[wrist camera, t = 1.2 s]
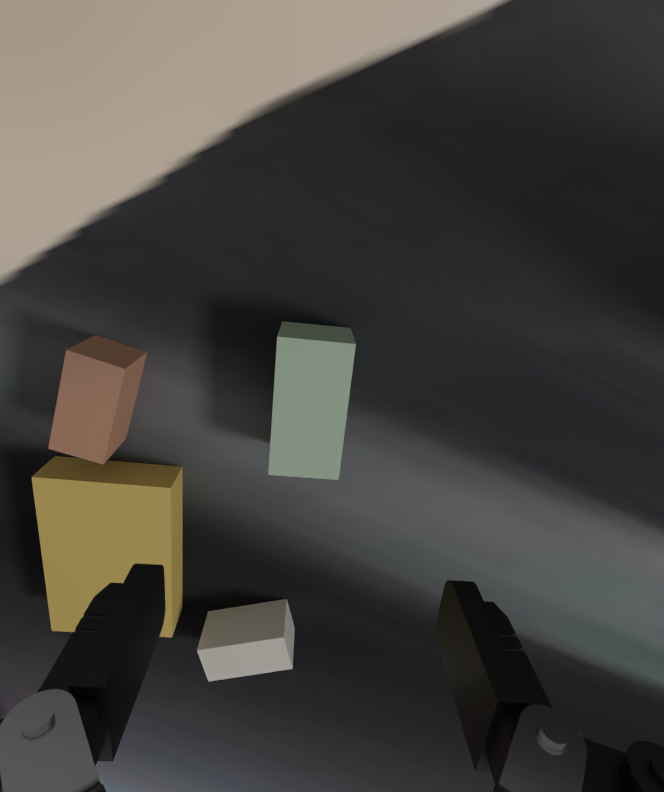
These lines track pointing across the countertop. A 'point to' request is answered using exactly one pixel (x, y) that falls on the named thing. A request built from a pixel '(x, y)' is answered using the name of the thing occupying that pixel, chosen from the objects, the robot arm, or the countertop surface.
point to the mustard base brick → (106, 531)
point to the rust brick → (96, 398)
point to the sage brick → (310, 399)
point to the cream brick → (247, 640)
